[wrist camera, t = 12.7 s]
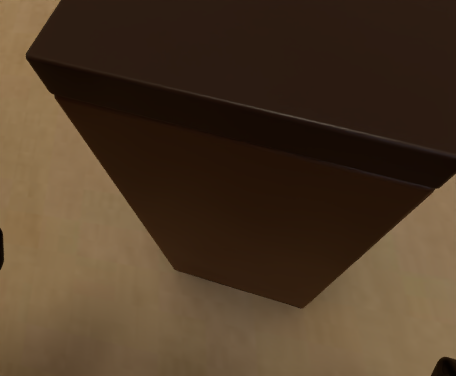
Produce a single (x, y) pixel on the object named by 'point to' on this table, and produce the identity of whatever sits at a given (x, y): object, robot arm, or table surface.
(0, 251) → the robot arm
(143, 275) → the table surface
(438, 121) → the brown wooden block
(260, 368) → the table surface
